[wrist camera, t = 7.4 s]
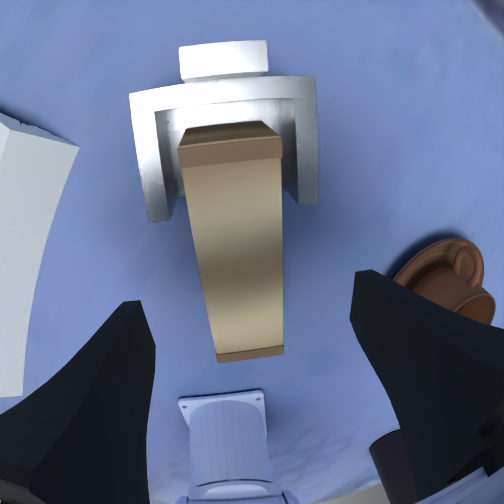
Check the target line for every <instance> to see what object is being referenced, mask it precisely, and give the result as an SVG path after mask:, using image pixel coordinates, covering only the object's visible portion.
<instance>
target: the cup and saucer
mask: <svg viewBox="0 0 504 504" xmlns="http://www.w3.org/2000/svg"><path fill="white" fill-rule="evenodd" d="M483 277H484V262H483V258H482V255H481V253H480V251H479V249H478V248H477V247H476V246H475V245H474V244H473V243H472V242H470V241H467V240H465V239H461V238H447V239H443V240H440V241H437V242H435V243H433V244H431V245H429V246H427V247H426V248H424V249H423V250H421V251H420V252H418V253H417V254H416V255H415V256H413V257H412V258H411V259H410V260H409V261H408V262H407V263H406V264H405V265H404V266H403V267H402V268H401V269H400V271H399V272H398V273H397V274H396V276H395V277H394V278H393V281H395V282H397V283H399V284H400V285H402V286H404V287H406V288H408V289H409V290H411V291H413V292H415V293H417V294H419V295H420V296H422V297H424V298H426V299H428V300H430V301H432V302H434V303H436V304H438V305H440V306H442V307H444V308H446V309H448V310H451V311H453V312H455V313H458V314H460V315H463V316H465V317H468V318H470V319H473V320H476V321H478V322H481V323H485V324H488V325H491V323H492V320H493V318H494V314H495V308H496V305H495V300H494V298H493V297H492V296H491V295H490V294H489V293H488V292H487V291H486V290H485V289H484V288H482V287H481V286H482V283H483Z"/></svg>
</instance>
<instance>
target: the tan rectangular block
mask: <svg viewBox="0 0 504 504" xmlns="http://www.w3.org/2000/svg"><path fill="white" fill-rule="evenodd" d="M177 151H178V158H179V165H180V169H182V175H183V181H184V188H185V194H186V200H187V207H188V213H189V219H190V224H191V230H192V236H193V241H194V247H195V252H196V258H197V263H198V268H199V273H200V279H201V284H202V289H203V294H204V298H205V303H206V308H207V313H208V317H209V322H210V327H211V331H212V336H213V340H214V345H215V350H216V358H217V362H218V363H225V362H233V361H241V360H248V359H255V358H262V357H269V356H275V355H281V354H284V345H283V232H282V183H281V158H282V138H281V137H280V135H278V134H277V133H276V132H275V131H274V130H272V129H271V128H270V127H269V126H268V125H266V124H265V123H264V122H263V121H248V122H236V123H226V124H217V125H208V126H200V127H193V128H186V129H185V132H184V134H183V136H182V139H181V141H180V144H179V146H178V149H177Z"/></svg>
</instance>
